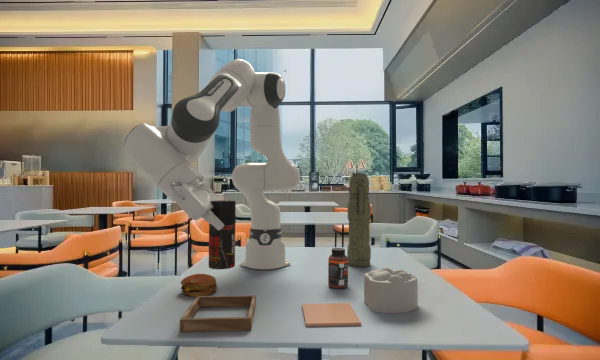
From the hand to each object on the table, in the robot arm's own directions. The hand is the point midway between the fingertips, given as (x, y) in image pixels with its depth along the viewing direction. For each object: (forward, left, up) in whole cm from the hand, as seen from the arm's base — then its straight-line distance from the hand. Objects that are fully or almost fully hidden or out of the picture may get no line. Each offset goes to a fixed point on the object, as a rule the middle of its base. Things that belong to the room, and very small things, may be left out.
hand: (225, 225), depth 76 cm
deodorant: (0, -1, -9) cm, 10 cm away
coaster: (0, +24, -21) cm, 32 cm away
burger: (-19, -10, -21) cm, 30 cm away
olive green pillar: (-49, +43, -21) cm, 69 cm away
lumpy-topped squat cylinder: (-6, +41, -21) cm, 47 cm away
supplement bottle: (-22, +30, -21) cm, 43 cm away
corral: (0, -1, -21) cm, 21 cm away
